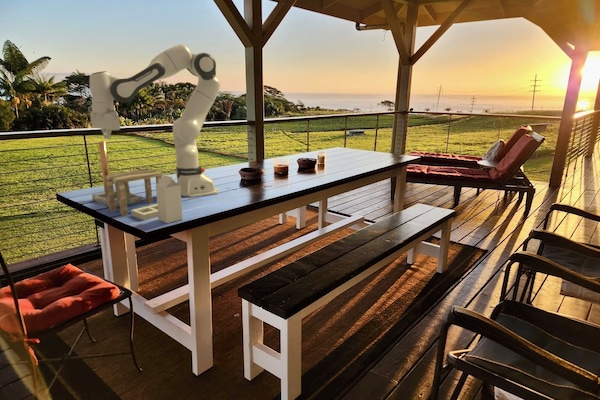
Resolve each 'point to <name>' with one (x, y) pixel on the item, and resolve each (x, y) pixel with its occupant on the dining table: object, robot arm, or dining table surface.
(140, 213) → the pit deck
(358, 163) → the dining table surface
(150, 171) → the tunnel
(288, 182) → the dining table surface
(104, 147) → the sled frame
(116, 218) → the dining table surface
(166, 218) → the milk carton
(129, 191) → the carving
